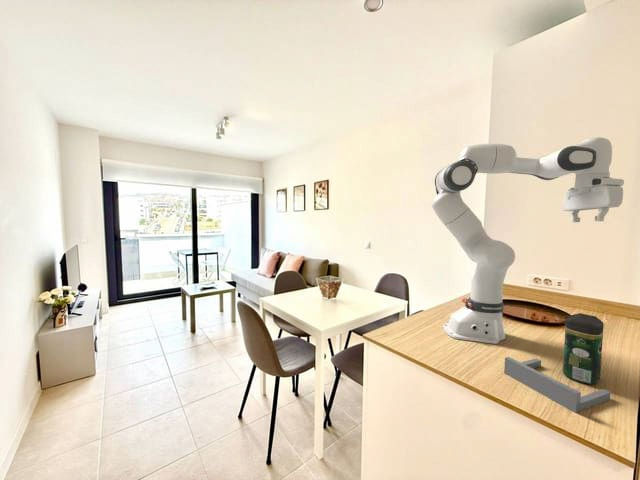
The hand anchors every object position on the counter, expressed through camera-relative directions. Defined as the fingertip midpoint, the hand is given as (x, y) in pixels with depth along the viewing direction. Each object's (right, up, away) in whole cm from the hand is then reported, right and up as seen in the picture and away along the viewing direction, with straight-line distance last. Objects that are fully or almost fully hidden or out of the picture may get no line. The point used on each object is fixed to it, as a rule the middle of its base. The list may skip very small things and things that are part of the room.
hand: (586, 221), depth 99 cm
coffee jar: (-20, -48, -18) cm, 55 cm away
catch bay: (-32, -48, -22) cm, 62 cm away
